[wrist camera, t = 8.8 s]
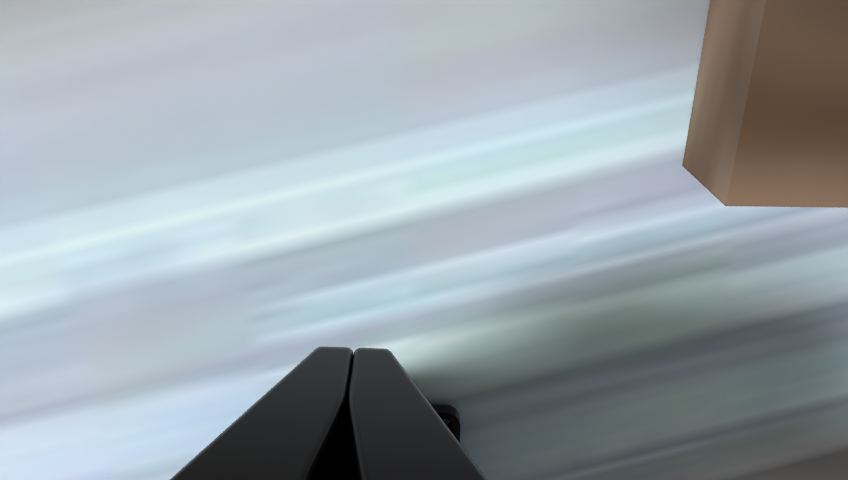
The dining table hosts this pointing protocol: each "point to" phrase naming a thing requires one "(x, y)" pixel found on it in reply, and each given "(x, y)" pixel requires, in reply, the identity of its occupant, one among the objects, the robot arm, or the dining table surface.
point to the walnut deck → (772, 104)
